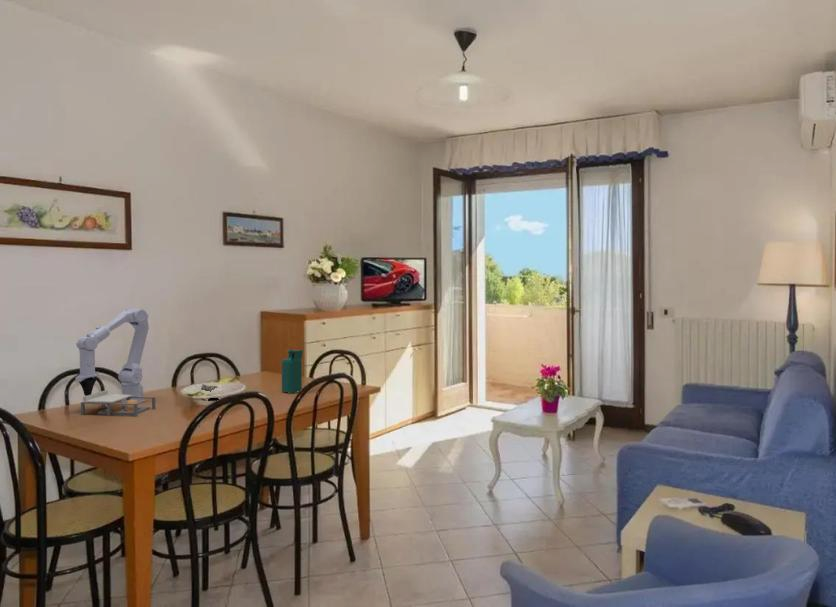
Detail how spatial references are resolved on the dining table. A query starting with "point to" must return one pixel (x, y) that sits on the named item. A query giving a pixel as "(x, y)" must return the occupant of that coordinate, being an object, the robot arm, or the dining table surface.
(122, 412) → the grey base stand
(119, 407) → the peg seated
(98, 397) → the lid
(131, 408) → the brown round cylinder
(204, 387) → the caster wheel
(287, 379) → the teal bottle
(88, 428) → the dining table surface
